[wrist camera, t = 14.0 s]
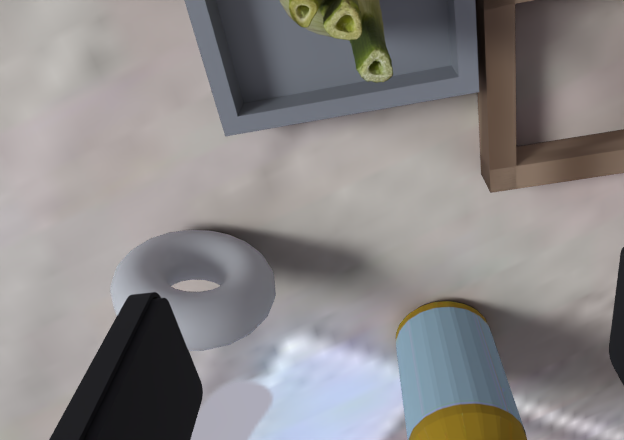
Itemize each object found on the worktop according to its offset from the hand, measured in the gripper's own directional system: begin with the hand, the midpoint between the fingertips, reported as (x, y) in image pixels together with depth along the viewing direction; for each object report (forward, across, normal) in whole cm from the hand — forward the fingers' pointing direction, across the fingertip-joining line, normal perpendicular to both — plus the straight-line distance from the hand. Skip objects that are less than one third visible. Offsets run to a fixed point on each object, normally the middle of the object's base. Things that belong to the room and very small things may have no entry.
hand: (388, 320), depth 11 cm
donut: (+23, +12, +11) cm, 28 cm away
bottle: (+23, -3, +22) cm, 32 cm away
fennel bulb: (+22, +1, -4) cm, 23 cm away
